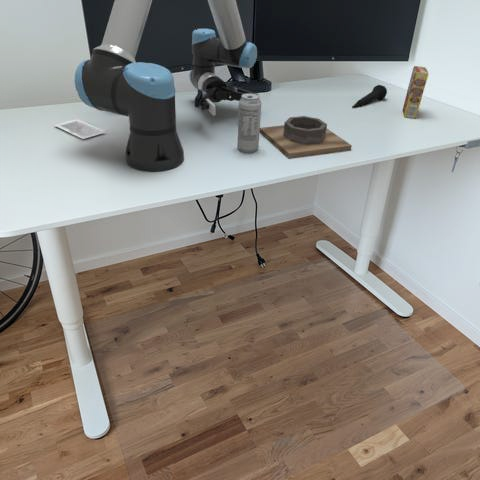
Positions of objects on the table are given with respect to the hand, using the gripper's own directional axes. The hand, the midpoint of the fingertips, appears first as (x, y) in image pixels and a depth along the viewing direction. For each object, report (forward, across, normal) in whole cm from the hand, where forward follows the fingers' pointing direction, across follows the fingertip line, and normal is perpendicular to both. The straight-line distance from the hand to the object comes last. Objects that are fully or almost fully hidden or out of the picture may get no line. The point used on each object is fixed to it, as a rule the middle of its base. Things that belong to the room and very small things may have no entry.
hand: (236, 108), depth 132 cm
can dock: (+9, -18, -8) cm, 22 cm away
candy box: (-3, -66, -9) cm, 67 cm away
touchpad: (-17, +43, -9) cm, 47 cm away
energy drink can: (+10, 0, -9) cm, 13 cm away
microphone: (-18, -59, -9) cm, 63 cm away
